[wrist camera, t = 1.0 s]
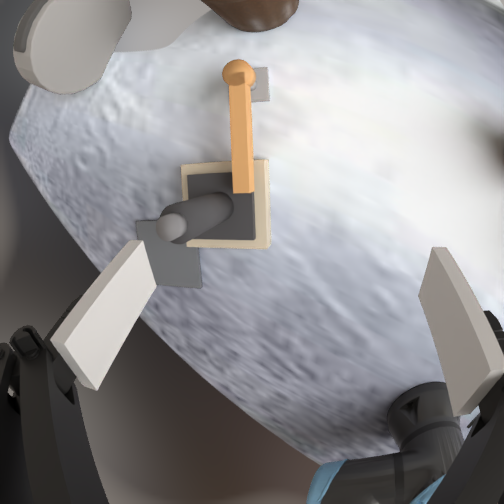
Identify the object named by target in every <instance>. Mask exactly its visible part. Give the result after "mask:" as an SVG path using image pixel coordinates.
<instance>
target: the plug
mask: <svg viewBox="0 0 504 504" xmlns="http://www.w3.org/2000/svg"><path fill="white" fill-rule="evenodd" d="M187 185H188V200H186V201H182V202H179V203H175V204H172V205H169V206H167V207H166V208H165V209H164V210H163V211H162V213H161V215H160V218H159V219H158V220H157V222H156V232H157V235H158V236H159V237H160V238H161V239H162V240H164V241H170V242H171V243H174V244H184V243H186V242H188V241H190V240H192V239H212V240H255V239H256V228H255V202H254V192H251V193H233V177H232V172H224V173H207V174H192V175H187Z"/></svg>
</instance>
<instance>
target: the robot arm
mask: <svg viewBox="0 0 504 504" xmlns="http://www.w3.org/2000/svg"><path fill="white" fill-rule="evenodd" d="M156 287H157V286H156V283H155V280H154V276H153V273H152V270H151V267H150V263H149V260H148V256H147V253H146V249H145V246H144V242H143V240H130V241H129V242H128V243H127V244H126V245H125V246H124V247H123V248H122V250H121V251H120V252H119V253H118V254H117V255H116V257H115V258H114V259H113V260H112V261H111V262H110V264H109V265H108V266H107V267H106V268H105V269H104V271H103V272H102V273H101V274H100V275H99V277H98V278H97V279H96V280H95V282H94V283H93V284H92V285H91V286H90V288H89V289H88V290H87V291H86V293H85V294H84V295H81V296H79V297H78V298H77V299H75V300H74V301H73V302H72V303H71V304H70V306H69V307H68V308H67V309H66V312H64V313H63V315H62V316H61V318H60V319H59V320H58V321H57V323H56V324H55V325H54V327H53V328H52V329H51V331H50V332H49V333H48V335H47V336H46V337H45V339H44V340H42V339H41V337H40V336H39V334H38V333H37V331H36V329H35V328H34V327H33V326H23V327H22V328H20V329H18V330H17V331H16V332H15V333H14V334H13V336H12V337H11V339H10V342H9V343H10V344H11V346H12V347H13V349H14V350H15V351H13V350H12V349H11V347H10V346H9V345H8V344H7V343H1V344H0V504H109V502H108V499H107V497H106V494H105V491H104V489H103V486H102V483H101V480H100V478H99V474H98V471H97V468H96V466H95V462H94V459H93V456H92V452H91V449H90V445H89V441H88V437H87V434H86V430H85V426H84V422H83V417H82V413H81V408H80V404H79V398H78V393H77V389H76V386H75V384H74V383H73V382H74V380H75V379H76V377H77V378H78V380H79V381H80V382H81V383H82V385H83V386H85V387H88V388H91V389H94V390H98V388H99V386H100V384H101V382H102V381H103V379H104V377H105V375H106V373H107V371H108V369H109V367H110V366H111V364H112V362H113V360H114V358H115V357H116V355H117V353H118V351H119V350H120V347H121V346H122V344H123V342H124V341H125V339H126V337H127V335H128V334H129V332H130V330H131V328H132V327H133V325H134V323H135V322H136V320H137V318H138V316H139V315H140V313H141V311H142V310H143V308H144V306H145V305H146V303H147V301H148V300H149V298H150V296H151V295H152V293H153V291H154V290H155V288H156ZM418 297H419V299H420V302H421V305H422V307H423V310H424V313H425V316H426V319H427V322H428V325H429V328H430V331H431V334H432V337H433V340H434V343H435V346H436V349H437V353H438V356H439V360H440V363H441V367H442V370H443V374H444V378H445V381H446V383H443V382H432V383H427V384H423V385H420V386H417V387H415V388H413V389H411V390H409V391H407V392H406V393H404V394H403V395H402V396H400V397H399V398H398V399H397V400H396V401H395V402H394V403H393V405H392V406H391V408H390V409H389V412H388V415H387V423H388V429H389V432H390V434H391V435H392V437H393V439H394V441H395V442H396V444H397V445H398V447H399V449H400V452H398V453H393V454H387V455H381V456H375V457H368V458H361V459H352V460H349V459H345V460H343V461H337V462H329V463H325V464H323V465H322V466H320V467H319V468H318V470H317V471H316V473H315V475H314V477H313V479H312V482H311V486H310V489H309V492H308V497H307V502H306V504H497V503H498V504H504V331H502V330H503V329H502V327H501V325H500V323H499V321H498V319H497V318H496V317H495V316H494V315H493V314H492V313H491V312H490V311H483V310H482V308H481V306H480V304H479V302H478V300H477V298H476V296H475V295H474V293H473V291H472V289H471V287H470V286H469V284H468V282H467V280H466V279H465V277H464V275H463V273H462V272H461V270H460V268H459V267H458V265H457V263H456V262H455V260H454V258H453V257H452V255H451V254H450V252H449V251H448V249H447V248H446V247H432V250H431V254H430V258H429V261H428V265H427V268H426V272H425V275H424V279H423V282H422V285H421V289H420V292H419V295H418ZM9 387H10V388H11V389H12V390H13V392H14V393H13V396H10V395H9V393H8V388H9ZM478 405H479V409H480V413H479V414H478V415H477V416H476V417H475V418H474V419H473V420H472V421H471V422H470V424H469V425H468V426H467V428H470V427H471V426H472V428H471V430H470V432H469V434H468V436H467V438H466V440H465V441H464V439H463V435H462V433H461V429H460V416H461V415H466V414H471V412H472V411H473V410H474V409H475V408H476V407H477V406H478Z"/></svg>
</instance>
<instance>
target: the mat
mask: <svg viewBox="0 0 504 504" xmlns="http://www.w3.org/2000/svg"><path fill="white" fill-rule="evenodd" d="M156 222H157V220H147V221H136V228H137V237H138V240H143V242H144V246H145V249H146V253H147V256H148V260H149V263H150V267H151V270H152V273H153V276H154V280H155V283H156V285H165V286H176V287H187V288H199V289H201V288H202V278H201V268H200V257H199V247H187V243H184V244H174V243H171V242H170V241H164V240H162V239H161V238H160V237H159V236H158V235H157V232H156Z"/></svg>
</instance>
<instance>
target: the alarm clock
mask: <svg viewBox="0 0 504 504" xmlns="http://www.w3.org/2000/svg"><path fill="white" fill-rule="evenodd" d="M131 13H132V12H131V7H130V2H129V0H34V1H33V2H32V4H31V5H30V6H29V8H28V9H27V11H26V12H25V14H24V15H23V17H22V19H21V20H20V22H19V25H18V28H17V31H16V34H15V37H14V45H13V55H14V60H15V64H16V67H17V69H18V71H19V73H20V74H21V76H22V77H23V78H24V79H26V80H27V81H28V82H29V83H31V84H33V85H36V86H38V87H40V88H43V89H45V90H48V91H50V92H54V93H57V94H73V93H76V92H79V91H82V90H85V89H86V88H88V87H90V86H91V85H93V84H95V83H96V82H97V81H98V80H99V79H101V77H102V75H103V73H104V71H105V68H106V66H107V64H108V62H109V60H110V58H111V56H112V54H113V52H114V50H115V48H116V46H117V44H118V42H119V40H120V38H121V36H122V34H123V33H124V31H125V29H126V27H127V25H128V24H129V22H130V20H131Z"/></svg>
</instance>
